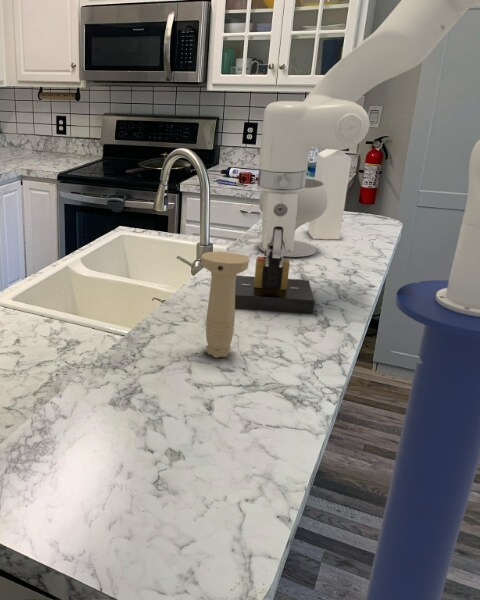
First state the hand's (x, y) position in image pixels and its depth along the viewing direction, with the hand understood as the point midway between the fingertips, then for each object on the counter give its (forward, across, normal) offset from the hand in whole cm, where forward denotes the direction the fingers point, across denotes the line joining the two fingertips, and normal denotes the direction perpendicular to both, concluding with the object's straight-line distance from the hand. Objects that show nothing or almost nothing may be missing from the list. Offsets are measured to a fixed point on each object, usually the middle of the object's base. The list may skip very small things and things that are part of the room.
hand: (270, 282), depth 108 cm
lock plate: (+3, 0, 0) cm, 3 cm away
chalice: (+4, +31, -5) cm, 32 cm away
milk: (+4, +44, -14) cm, 46 cm away
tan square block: (+1, 0, 0) cm, 1 cm away
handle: (+4, -23, +8) cm, 25 cm away
